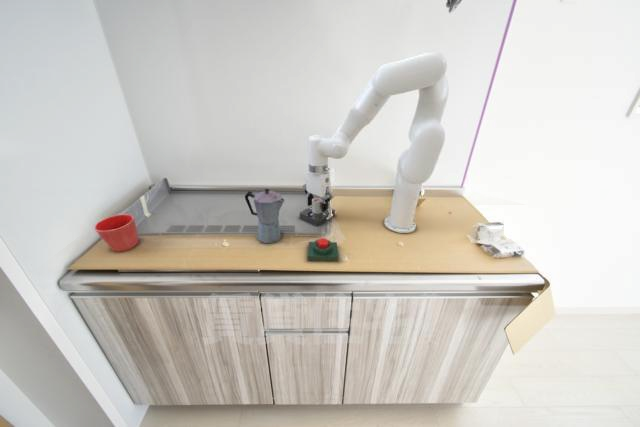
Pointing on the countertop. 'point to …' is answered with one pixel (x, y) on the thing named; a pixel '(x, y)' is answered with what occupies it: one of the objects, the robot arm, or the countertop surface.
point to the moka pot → (267, 214)
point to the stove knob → (317, 205)
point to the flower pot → (118, 232)
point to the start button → (322, 243)
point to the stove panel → (315, 216)
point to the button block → (323, 252)
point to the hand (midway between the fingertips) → (317, 207)
